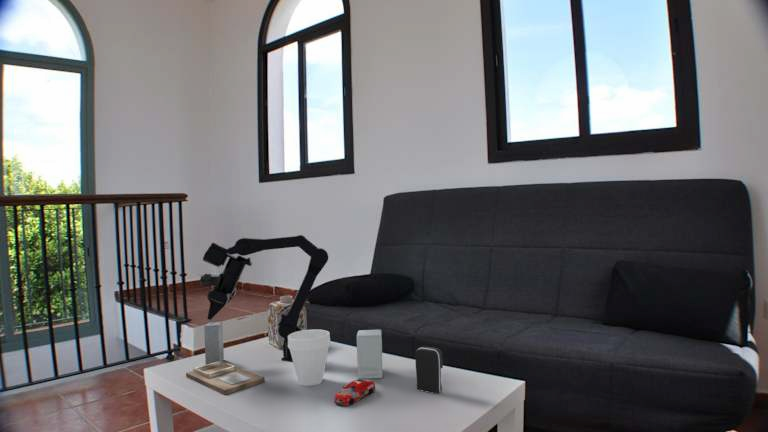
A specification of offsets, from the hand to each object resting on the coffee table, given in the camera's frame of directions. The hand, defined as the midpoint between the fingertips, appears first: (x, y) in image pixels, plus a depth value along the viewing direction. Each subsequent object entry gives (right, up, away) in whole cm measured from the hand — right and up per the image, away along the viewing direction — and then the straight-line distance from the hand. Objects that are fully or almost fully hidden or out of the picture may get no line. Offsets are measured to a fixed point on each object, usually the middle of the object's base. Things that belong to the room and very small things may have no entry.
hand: (211, 316), depth 153 cm
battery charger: (+70, -14, -29) cm, 77 cm away
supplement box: (+53, -14, -15) cm, 57 cm away
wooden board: (+9, -16, -14) cm, 23 cm away
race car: (+49, -15, -32) cm, 61 cm away
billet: (0, -16, +3) cm, 17 cm away
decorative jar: (+20, -16, +24) cm, 35 cm away
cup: (+36, -15, -19) cm, 43 cm away
